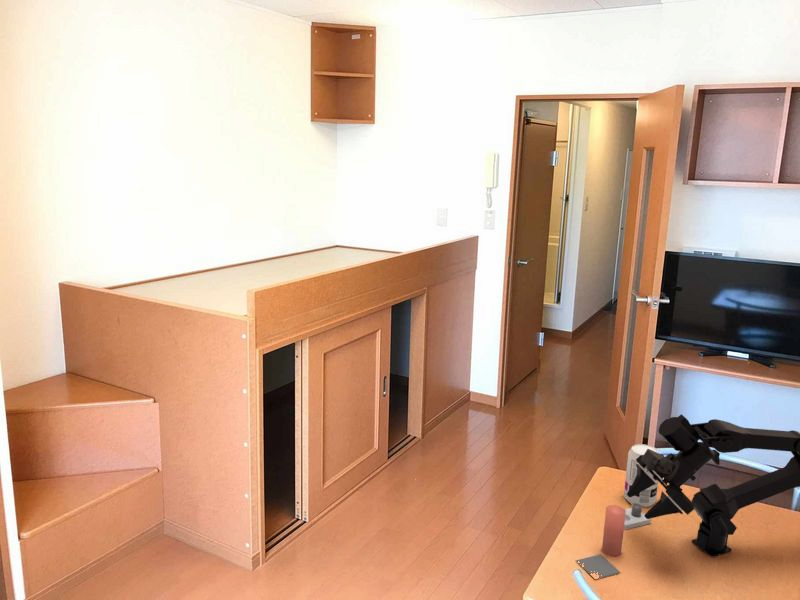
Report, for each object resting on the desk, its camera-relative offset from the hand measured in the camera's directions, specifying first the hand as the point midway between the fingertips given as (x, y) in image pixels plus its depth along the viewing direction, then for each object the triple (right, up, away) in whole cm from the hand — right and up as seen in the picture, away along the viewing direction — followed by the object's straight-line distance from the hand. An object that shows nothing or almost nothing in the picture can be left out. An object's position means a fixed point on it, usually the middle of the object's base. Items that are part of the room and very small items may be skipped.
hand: (636, 506), depth 152 cm
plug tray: (+4, -8, +15) cm, 18 cm away
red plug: (-5, -11, +2) cm, 13 cm away
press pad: (-10, -13, -4) cm, 17 cm away
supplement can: (+10, -6, +24) cm, 27 cm away
